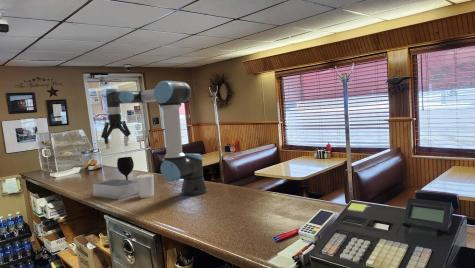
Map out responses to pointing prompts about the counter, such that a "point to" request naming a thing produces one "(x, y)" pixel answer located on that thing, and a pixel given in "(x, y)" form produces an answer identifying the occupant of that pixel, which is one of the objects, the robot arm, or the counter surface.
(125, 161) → the wine glass
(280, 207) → the counter surface
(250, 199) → the counter surface
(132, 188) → the steel trough
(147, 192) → the white box
